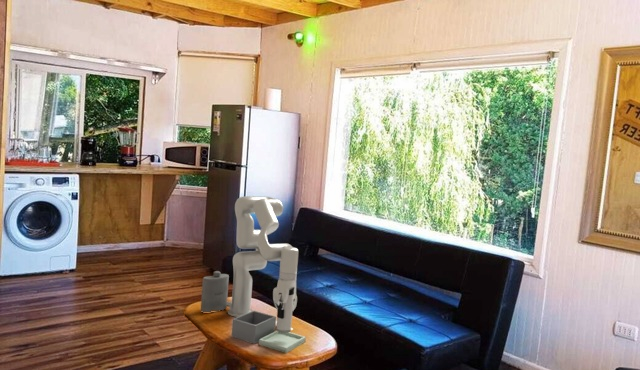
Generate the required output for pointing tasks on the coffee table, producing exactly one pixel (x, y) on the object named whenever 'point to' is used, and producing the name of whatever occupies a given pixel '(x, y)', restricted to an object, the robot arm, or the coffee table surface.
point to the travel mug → (286, 314)
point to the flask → (214, 292)
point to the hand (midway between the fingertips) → (284, 315)
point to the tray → (282, 341)
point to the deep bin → (253, 326)
